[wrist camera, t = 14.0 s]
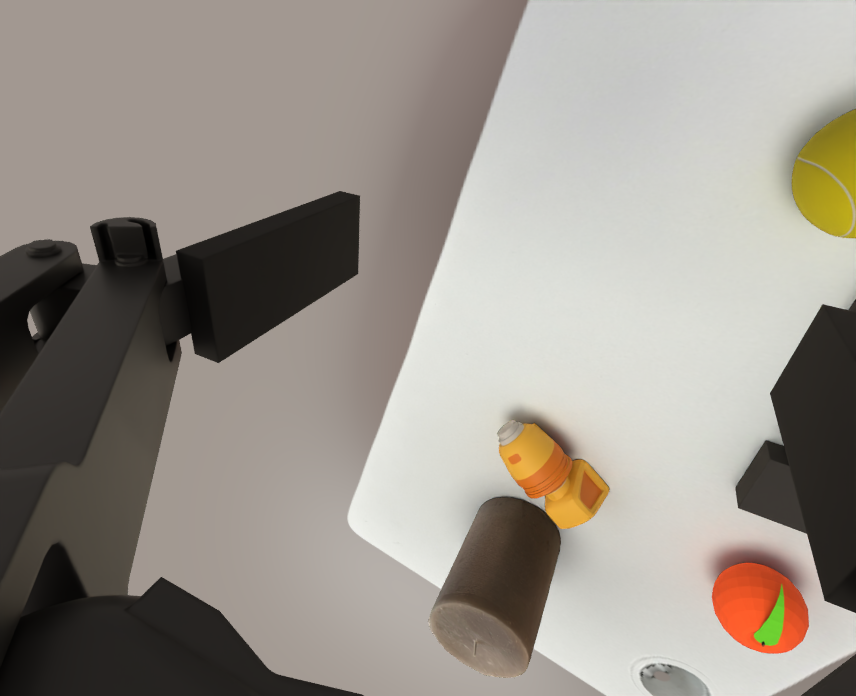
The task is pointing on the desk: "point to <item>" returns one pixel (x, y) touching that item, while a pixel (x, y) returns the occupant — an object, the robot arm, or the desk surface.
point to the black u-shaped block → (772, 486)
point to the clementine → (760, 608)
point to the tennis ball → (829, 178)
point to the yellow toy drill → (551, 474)
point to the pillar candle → (498, 588)
